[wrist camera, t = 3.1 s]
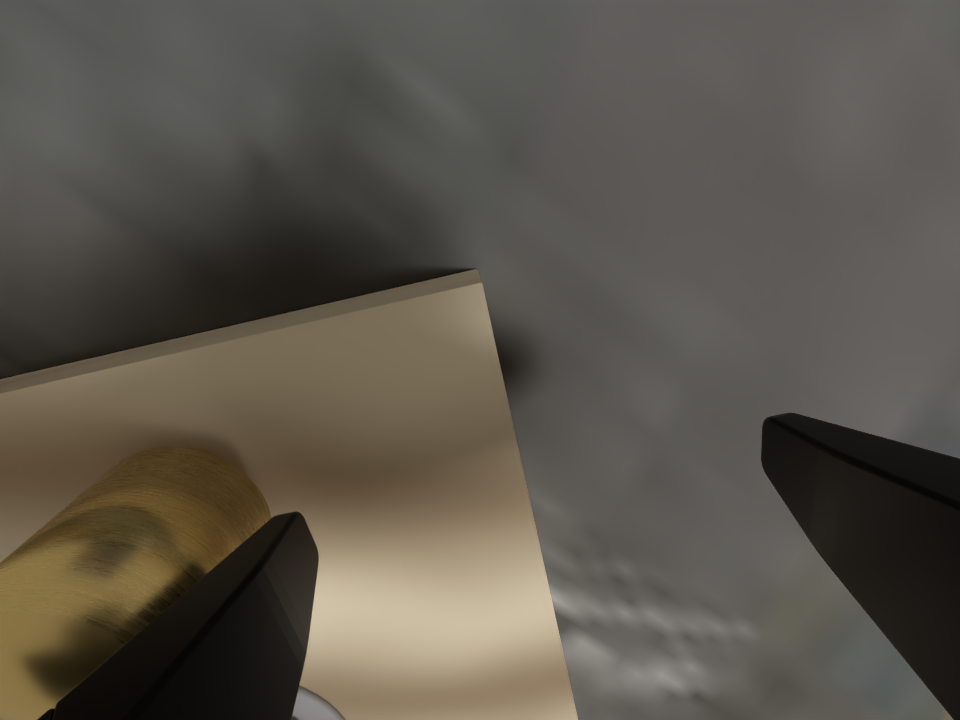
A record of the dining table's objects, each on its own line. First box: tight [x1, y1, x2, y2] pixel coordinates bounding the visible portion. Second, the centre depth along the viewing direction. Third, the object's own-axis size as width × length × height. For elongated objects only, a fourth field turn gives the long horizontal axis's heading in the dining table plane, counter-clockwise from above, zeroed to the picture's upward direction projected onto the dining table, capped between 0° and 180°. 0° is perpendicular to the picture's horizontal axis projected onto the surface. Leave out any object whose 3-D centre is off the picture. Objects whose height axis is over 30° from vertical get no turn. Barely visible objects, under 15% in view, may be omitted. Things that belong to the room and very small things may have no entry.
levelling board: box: [0, 269, 578, 720], centre depth 13 cm, size 20×18×2 cm
